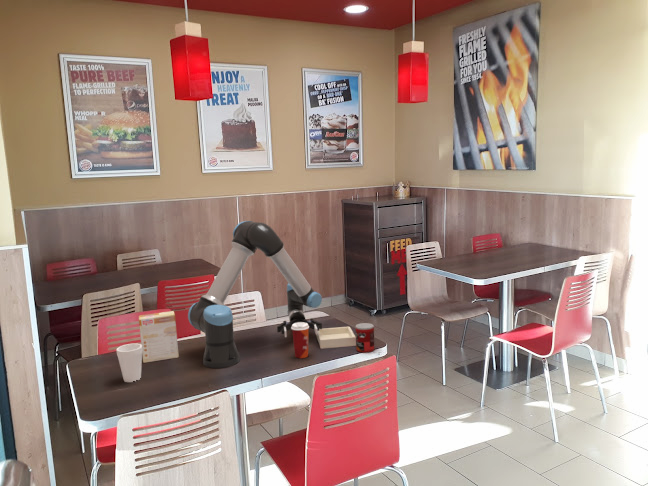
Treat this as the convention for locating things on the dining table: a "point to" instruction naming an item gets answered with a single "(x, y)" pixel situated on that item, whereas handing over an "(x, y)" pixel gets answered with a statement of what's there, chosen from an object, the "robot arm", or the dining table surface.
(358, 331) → the canned food
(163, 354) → the coffeecake box
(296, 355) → the paper cup
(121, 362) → the foam cup
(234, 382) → the dining table surface
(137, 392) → the dining table surface
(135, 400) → the dining table surface
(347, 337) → the tray
